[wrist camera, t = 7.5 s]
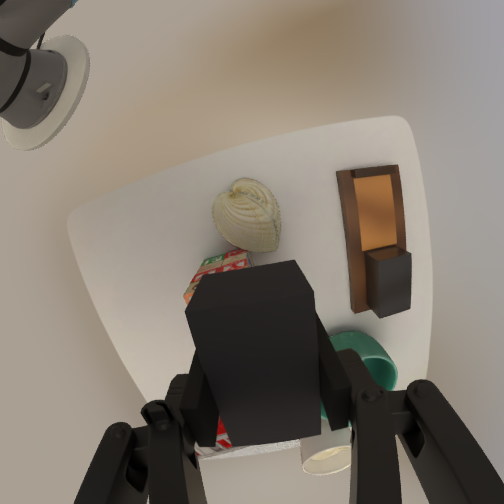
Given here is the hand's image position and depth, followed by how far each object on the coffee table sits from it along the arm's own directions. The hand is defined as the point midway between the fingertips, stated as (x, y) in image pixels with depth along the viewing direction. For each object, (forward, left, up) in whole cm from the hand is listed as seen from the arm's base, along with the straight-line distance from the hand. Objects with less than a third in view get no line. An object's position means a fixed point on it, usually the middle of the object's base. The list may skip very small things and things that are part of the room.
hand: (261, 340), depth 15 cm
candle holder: (+34, +6, -21) cm, 40 cm away
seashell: (-5, 0, -21) cm, 22 cm away
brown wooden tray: (+2, +17, -21) cm, 27 cm away
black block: (0, 0, 0) cm, 0 cm away
